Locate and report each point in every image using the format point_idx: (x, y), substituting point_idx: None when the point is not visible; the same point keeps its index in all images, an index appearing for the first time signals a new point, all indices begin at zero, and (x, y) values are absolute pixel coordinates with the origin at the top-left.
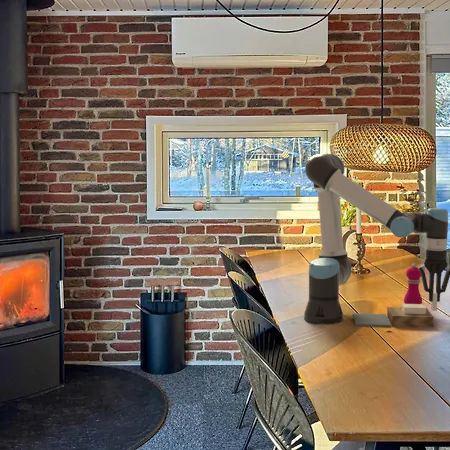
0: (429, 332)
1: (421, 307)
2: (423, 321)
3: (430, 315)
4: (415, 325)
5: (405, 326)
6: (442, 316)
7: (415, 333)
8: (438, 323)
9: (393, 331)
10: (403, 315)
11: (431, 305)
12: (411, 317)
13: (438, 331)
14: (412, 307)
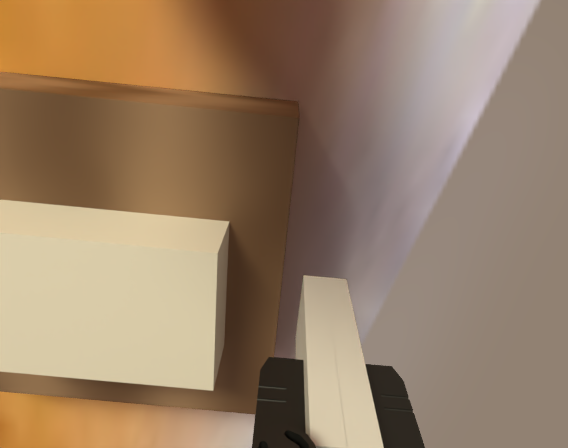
0: (218, 433)
1: (167, 375)
2: None
3: (253, 380)
4: None
5: None
6: (484, 46)
7: (132, 445)
8: (345, 267)
9: (3, 414)
10: (20, 376)
11: (303, 309)
12: (90, 392)
13: None
14: (71, 371)
